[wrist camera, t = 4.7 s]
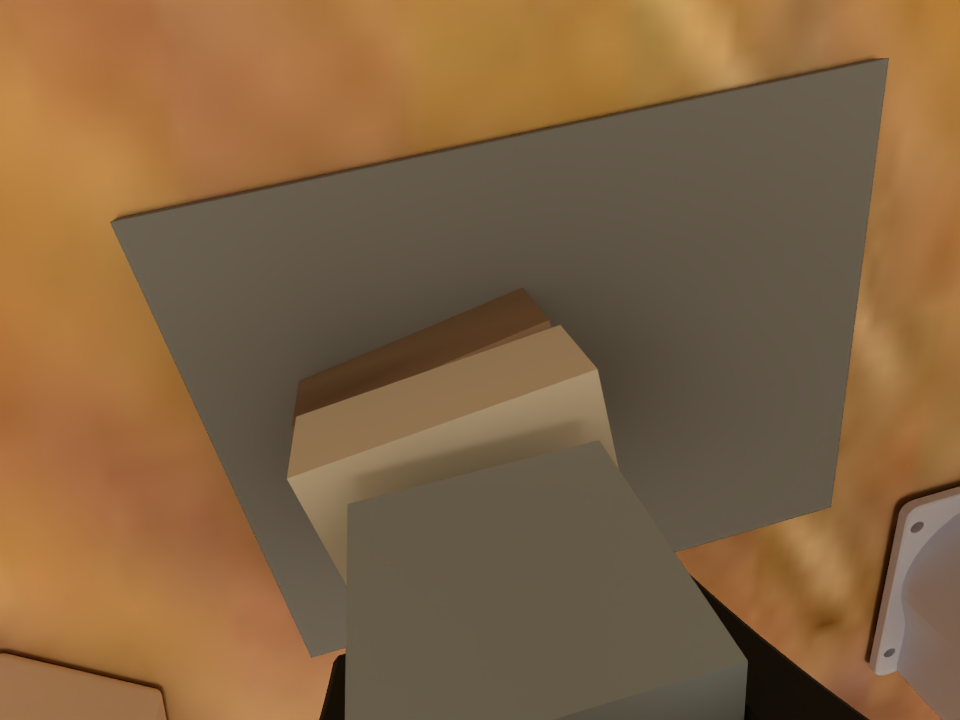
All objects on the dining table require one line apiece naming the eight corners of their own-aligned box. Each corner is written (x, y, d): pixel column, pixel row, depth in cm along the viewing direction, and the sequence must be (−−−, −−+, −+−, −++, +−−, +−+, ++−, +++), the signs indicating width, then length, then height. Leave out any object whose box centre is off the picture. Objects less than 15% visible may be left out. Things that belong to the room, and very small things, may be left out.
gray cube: (613, 613, 13) (734, 863, 9) (405, 673, 12) (430, 964, 8) (599, 440, 11) (747, 661, 7) (347, 503, 10) (344, 781, 6)
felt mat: (822, 499, 21) (830, 507, 21) (312, 646, 19) (311, 657, 19) (875, 58, 15) (888, 58, 14) (116, 217, 13) (110, 221, 12)
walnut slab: (583, 465, 18) (613, 513, 16) (396, 544, 18) (402, 603, 16) (522, 287, 15) (548, 319, 13) (298, 381, 15) (291, 428, 13)
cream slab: (607, 522, 16) (643, 585, 14) (391, 601, 15) (397, 677, 14) (560, 324, 13) (597, 369, 11) (296, 416, 13) (286, 478, 11)
